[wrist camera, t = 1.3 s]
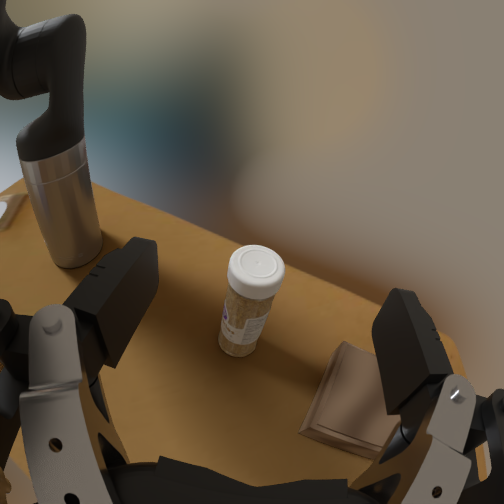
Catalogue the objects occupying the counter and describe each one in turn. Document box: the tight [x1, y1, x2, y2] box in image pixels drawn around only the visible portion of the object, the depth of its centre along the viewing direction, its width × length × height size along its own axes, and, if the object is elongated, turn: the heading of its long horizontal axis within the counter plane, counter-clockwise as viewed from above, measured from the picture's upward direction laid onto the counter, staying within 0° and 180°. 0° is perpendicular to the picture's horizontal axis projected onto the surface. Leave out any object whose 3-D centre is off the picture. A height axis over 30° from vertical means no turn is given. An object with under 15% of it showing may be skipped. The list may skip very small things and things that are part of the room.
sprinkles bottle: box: [218, 245, 285, 357], centre depth 27 cm, size 5×5×14 cm
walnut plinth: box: [298, 341, 401, 460], centre depth 25 cm, size 11×11×4 cm
